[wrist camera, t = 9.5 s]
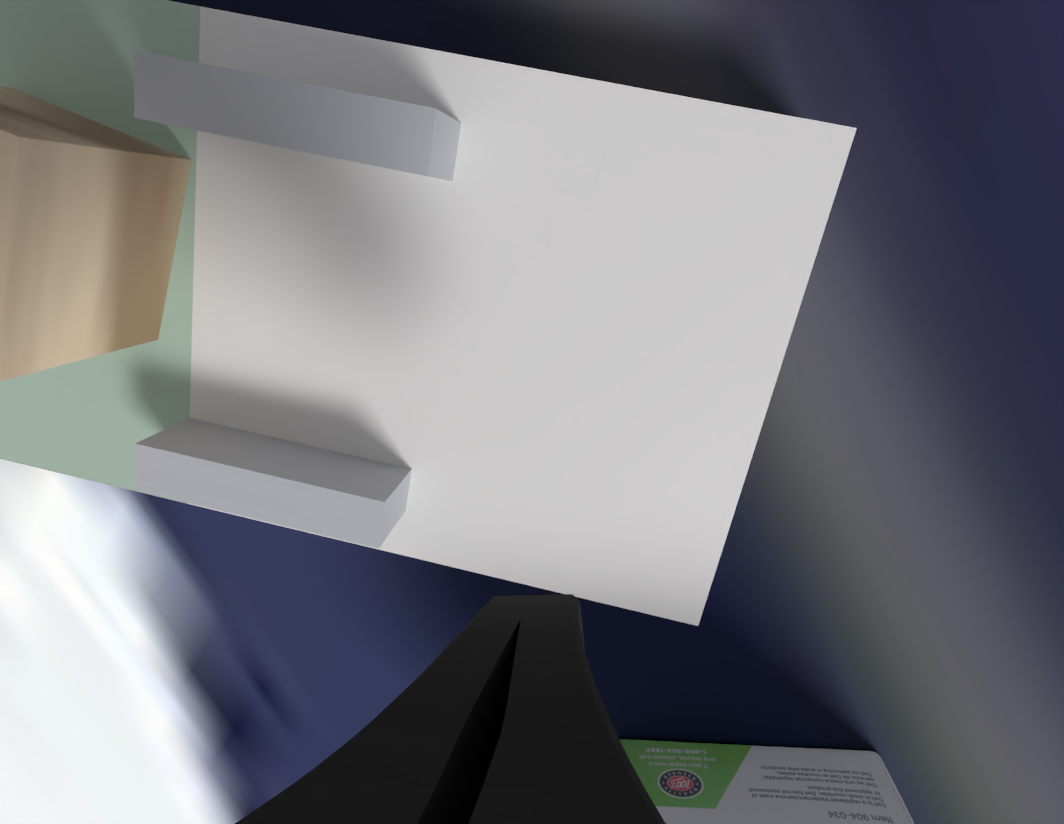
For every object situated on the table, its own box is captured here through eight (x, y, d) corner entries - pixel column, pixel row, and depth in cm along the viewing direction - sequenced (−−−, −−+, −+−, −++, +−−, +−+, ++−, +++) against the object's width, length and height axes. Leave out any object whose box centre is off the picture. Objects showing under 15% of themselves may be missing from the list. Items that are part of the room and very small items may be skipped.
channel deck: (814, 144, 16) (897, 112, 11) (686, 566, 19) (708, 678, 15) (-231, -52, 18) (-542, -151, 13) (-167, 366, 21) (-392, 409, 17)
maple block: (192, 159, 15) (19, 136, 11) (158, 339, 16) (-6, 382, 12) (12, 88, 15) (-232, 36, 11) (-6, 273, 16) (-227, 293, 12)
